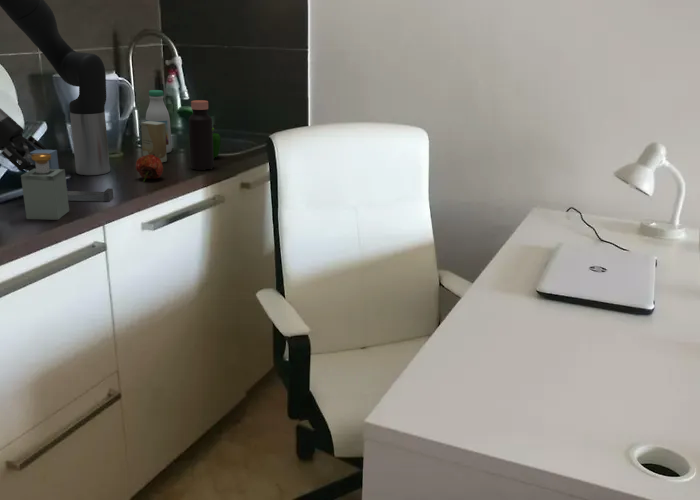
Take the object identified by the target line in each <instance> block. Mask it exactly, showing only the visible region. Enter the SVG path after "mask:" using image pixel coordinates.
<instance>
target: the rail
mask: <svg viewBox="0 0 700 500" xmlns="http://www.w3.org/2000/svg"><path fill="white" fill-rule="evenodd" d="M67 195H68V202H103V201H109V202H111V201H112V200H113V199H114V188H107V189H105V190H104V191H84V190H83V191H79V190H74V191H73V190H67ZM110 200H111V201H110Z"/></svg>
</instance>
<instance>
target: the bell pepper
mask: <svg viewBox="0 0 700 500" xmlns="http://www.w3.org/2000/svg"><path fill="white" fill-rule="evenodd" d="M212 130H213V131H214V130H215V128H214V127H212ZM221 139H222V138H221V135H220V134H219V133H215V132H214V133H213V158H214V159H216V158H218V155H219V154H220V150H221V149H220V148H221V145H222V143H221V141H222V140H221ZM215 157H216V158H215Z"/></svg>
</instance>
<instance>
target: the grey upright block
mask: <svg viewBox="0 0 700 500" xmlns="http://www.w3.org/2000/svg"><path fill="white" fill-rule="evenodd" d="M20 178H21V179H20V181H21V187H22V195H23V202H24V209H25V216H26V217H25V218H26V220H52V221H53V220H54V221H55V220H57V221H58V220H60V219H61V218H63V217H64V216H66V214H68V213H69V212H70V206H69V201H68V195H67V191H68V188H67V187H68V186H67V179H66V169H65V168H63V169H62V168H60V169H50V174H49V175H44V174H37V173H36V169H32V170H30V171H26V172H25V173H23V174H21V175H20Z"/></svg>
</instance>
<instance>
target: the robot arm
mask: <svg viewBox="0 0 700 500" xmlns="http://www.w3.org/2000/svg"><path fill="white" fill-rule="evenodd" d="M0 8H1V9H2V11H4V12H5V14H6V15H7V16H8V17H9V18H10V20H12V22H13V23H14V25H16V26H17V27H18V28H19V29H20V30H21V31H22V32H23V33H24V34H25V36H27V38H28V39H29V40H30V41H31V42H32V44H34V45H35V46H36V48H37V49H38V50H39V51H40V52H41V53H42V54H43V56H44V57H45V58H46V59H47V60H48V62H49V64H50V65H51V66H52V68H53V69H54V70H55V72H56V74H58V76H59V77H60V78H61V79H62V81H64V82H65V83H66V84H67V85H69V86H72V87H78V96H77V98H76V99H75V98H74V99H73V100H71V101H70V102H69V103H68V106H69V116H70V117H69V118H70V125H71V134H72V135H71V136H72V143H73V144H72V145H73V152H74V155H73V156H74V165H75V172H76V174H78V175H81V176H83V175H84V176H98V175H105V174H107V173H110V171H111V166H110V155H109V153H110V152H109V146H108V145H109V144H108V134H107V132H108V131H107V123H106V121H107V120H106V112H105V111H106V110H105V109H106V108H105V106H106V102H107V78H106V75H107V74H106V68H105V65H104V62H103V59H101V57H100V56H98V55H97V54H95V53H90V52H77V51H76V50H74V49H73V48H72V47H71V46H70V45H69V44H68V43H67V42H66V41H65V39H63V38H64V37H62V36H61V34H60V32H59V29H58V24H57V21H56V20H57V19H56V16H55V13H54V12H53V10H52V8H51V7H50V6H49V4H48V3H47V2H46V1H45V0H0ZM24 131H25V130H24V127H22V126H21V125H19V123H17V122H16V121H15V120H14V119H13V118H12V117H11V116H10V115H9V114H8V113H6V112H5V111H4V110H3V109H2V108H0V151H2V152H1V154H2V155H3V156H4V158H6V159H7V160H8V161H9V162H11V164H12V165H14V167H15V168H17V169H18V170H19V171H21V172H22V171H26V172H28V171H30V170H32V169H36V165H35V164H34V162H33V161H32V159H31V153H30V152H32V151H34V150H49V149H48V148H47V147H46V146H44V145H43V144H42V143H40V141H38V140H37V139H36V138H35V137H34V136H32V135H30V136H28V138H26V137H24V136H23V134H24ZM58 166H59V169H61V166H60V165H59V164H58Z"/></svg>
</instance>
